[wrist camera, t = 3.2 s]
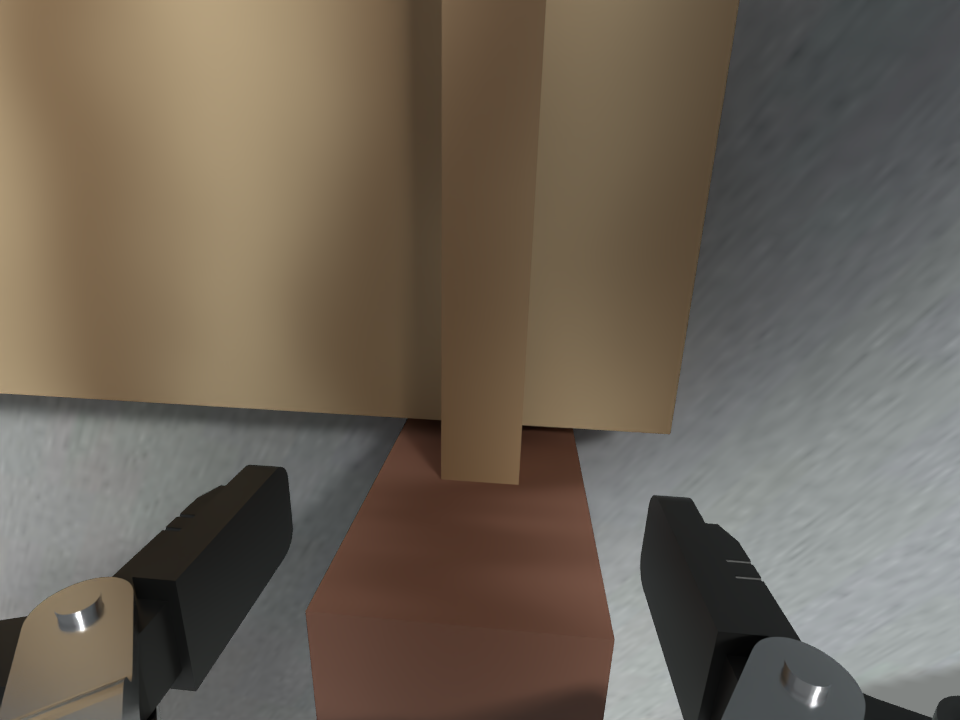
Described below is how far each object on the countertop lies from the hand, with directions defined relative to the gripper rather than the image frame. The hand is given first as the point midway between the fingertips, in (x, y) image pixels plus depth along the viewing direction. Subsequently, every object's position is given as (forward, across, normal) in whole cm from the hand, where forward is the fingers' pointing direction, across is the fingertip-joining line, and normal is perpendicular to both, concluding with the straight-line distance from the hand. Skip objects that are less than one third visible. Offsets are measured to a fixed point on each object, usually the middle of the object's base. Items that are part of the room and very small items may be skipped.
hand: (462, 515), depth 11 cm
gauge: (+3, 0, -5) cm, 5 cm away
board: (+3, +8, -7) cm, 11 cm away
